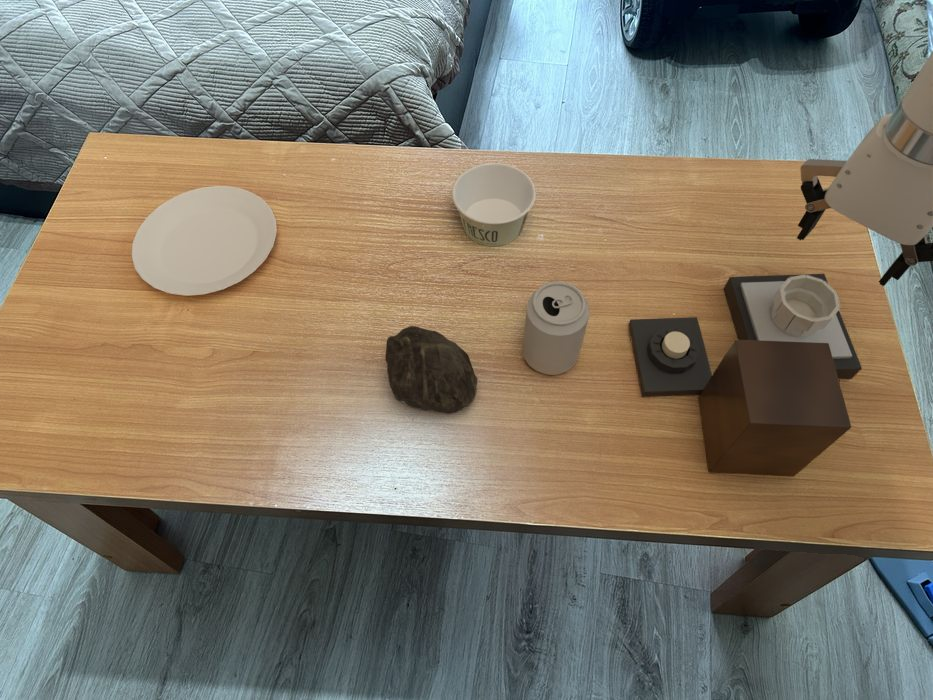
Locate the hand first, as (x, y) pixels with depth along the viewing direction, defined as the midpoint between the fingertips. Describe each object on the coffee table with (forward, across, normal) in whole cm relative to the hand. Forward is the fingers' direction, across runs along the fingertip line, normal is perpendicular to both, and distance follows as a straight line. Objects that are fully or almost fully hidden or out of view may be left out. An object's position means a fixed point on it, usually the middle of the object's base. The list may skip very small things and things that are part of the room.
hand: (844, 254), depth 73 cm
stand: (+17, -4, +16) cm, 24 cm away
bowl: (+13, 0, 0) cm, 13 cm away
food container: (+16, +42, +12) cm, 47 cm away
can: (+17, +22, +24) cm, 36 cm away
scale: (+17, 0, 0) cm, 17 cm away
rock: (+17, +30, +38) cm, 51 cm away
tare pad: (+17, +10, +14) cm, 23 cm away
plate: (+16, +70, +44) cm, 84 cm away
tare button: (+14, +9, +14) cm, 22 cm away
